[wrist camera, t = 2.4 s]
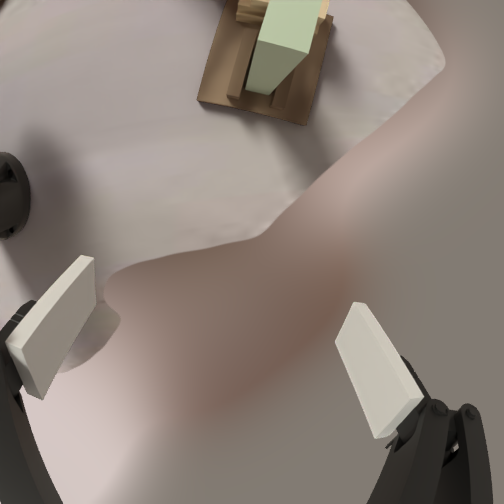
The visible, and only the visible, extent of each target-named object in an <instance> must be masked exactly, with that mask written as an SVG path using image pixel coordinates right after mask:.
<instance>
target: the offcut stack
mask: <svg viewBox="0 0 504 504" xmlns="http://www.w3.org/2000/svg"><path fill="white" fill-rule="evenodd" d="M269 1H270V0H239V3H238V10H237V13H236V21H240V22H246V23H250V24H255V25H260V26H262V23H263V20H264V17H265V14H266V11H267V7H268V4H269ZM329 1H330V0H322V3H321V7H320V11H319V15H318V19H317V23H316V27H315V31H314V34H313V38H312V40H313V39H314V38H315V36H316V35H317V34H318V30H319V26H320V24H321V23H322V22H323V21H324V20H325V17H326V13H327V9H328V5H329Z"/></svg>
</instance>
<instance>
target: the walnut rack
mask: <svg viewBox="0 0 504 504" xmlns="http://www.w3.org/2000/svg"><path fill="white" fill-rule="evenodd" d="M238 3H239V0H227V1H226V4H225V7H224V10H223V13H222V15H221V18H220V21H219V24H218V27H217V30H216V34H215V37H214V40H213V43H212V46H211V50H210V53H209V56H208V60H207V63H206V67H205V70H204V74H203V77H202V81H201V85H200V89H199V92H198V96H197V101H200V102H206V103H211V104H217V105H222V106H227V107H232V108H237V109H241V110H246V111H250V112H254V113H259V114H263V115H267V116H271V117H275V118H278V119H282V120H286V121H289V122H293V123H296V124H300V125H303V126H305V125H307V121H308V117H309V113H310V109H311V105H312V102H313V98H314V94H315V90H316V86H317V82H318V78H319V74H320V70H321V66H322V62H323V58H324V54H325V50H326V46H327V42H328V38H329V34H330V30H331V26H332V22H333V16H330V15H327V14H326V17H325V20H324V21H323V22H322V23H321V24H320V26H319V30H318V34H317V35H316V36H315V38H314V39H313V40H312V42H311V46H310V50H309V54H308V55H307V56H306V57H305V58H304V59H303V60H302V61H301V62H300V63H299V64H298V65H297V66H296V67H295V68H294V69H293V70H292V71H291V72H290V73H289V74H288V75H287V76H286V77H285V78H284V79H283V81H282V82H281V83H280V84H279V85H278V86H277V87H276V88H275V89H274V90H273V91H272V92H271V94H270V95H265V94H261V93H257V92H253V91H248V90H245V88H246V84H247V80H248V75H249V71H250V67H251V63H252V59H253V56H254V52H255V48H256V44H257V40H258V37H259V33H260V30H261V27H262V26H260V25H255V24H250V23H246V22H240V21H236V13H237V10H238Z"/></svg>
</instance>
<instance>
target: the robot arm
mask: <svg viewBox="0 0 504 504" xmlns="http://www.w3.org/2000/svg"><path fill="white" fill-rule="evenodd" d="M29 210H30V189H29V183H28V179H27V176H26V173H25V171H24V169H23V167H22V165H21V164H20V162H19V161H18V160H17V159H16V158H15V157H14V156H13V155H11V154H9V153H6V152H0V240H6V239H9V238H11V237H12V236H14V235H16V234H17V233H19V232H20V231H21V230H22V228H23V227H24V225H25V224H26V221H27V219H28V215H29ZM96 305H97V303H96V289H95V267H94V258H93V257H88V256H83V255H80V256H79V257H78V258H77V259H76V261H75V262H74V263H73V264H72V265H71V266H70V267H69V268H68V269H67V270H66V271H65V272H64V273H63V274H62V275H61V276H60V277H59V278H58V279H57V280H56V281H55V283H54V284H53V285H52V286H51V287H50V288H49V289H48V290H47V291H46V292H45V294H44V295H43V296H42V297H41V298H40V299H39V300H38V302H36V301H33V300H30V301H29V302H27V303H25V304H24V305H22V306H21V307H20V308H19V309H18V311H17V312H16V314H14V315H13V316H12V318H11V320H9V321H8V322H7V323H6V325H5V326H4V327H3V328H2V330H1V331H0V502H1V504H63V502H62V501H61V498H60V496H59V494H58V493H57V491H56V489H55V487H54V484H53V483H52V480H51V478H50V476H49V474H48V471H47V469H46V467H45V464H44V462H43V460H42V457H41V455H40V452H39V450H38V447H37V444H36V442H35V439H34V436H33V433H32V430H31V427H30V424H29V421H28V417H27V415H26V411H25V407H24V403H23V400H22V396H21V394H20V392H19V390H20V389H21V387H22V385H23V386H24V388H25V390H26V392H27V393H28V394H29V395H32V396H34V397H36V398H39V399H41V400H43V399H44V397H45V395H46V393H47V391H48V388H49V387H50V385H51V383H52V381H53V379H54V377H55V375H56V373H57V371H58V370H59V368H60V366H61V364H62V362H63V360H64V359H65V357H66V355H67V353H68V351H69V350H70V348H71V346H72V344H73V343H74V341H75V339H76V338H77V336H78V334H79V332H80V331H81V329H82V327H83V326H84V324H85V322H86V321H87V319H88V318H89V316H90V314H91V313H92V311H93V310H94V308H95V306H96ZM335 344H336V346H337V348H338V350H339V353H340V355H341V358H342V360H343V362H344V365H345V367H346V369H347V372H348V374H349V377H350V379H351V381H352V384H353V386H354V388H355V391H356V393H357V396H358V398H359V401H360V403H361V406H362V408H363V410H364V413H365V416H366V418H367V420H368V423H369V426H370V428H371V430H372V433H373V436H374V438H375V439H376V438H382V437H388V436H389V435H390V434H391V433H392V432H393V431H394V430H395V429H397V432H398V435H397V436H396V437H395V438H394V439H393V440H392V441H391V442H390V443H389V444H387V446H386V447H385V448H386V449H387V448H388V447H389V446H390V445H392V447H391V449H390V452H389V455H388V457H387V460H386V462H385V465H384V467H383V470H382V472H381V474H380V476H379V479H378V481H377V483H376V485H375V488H374V490H373V492H372V494H371V496H370V498H369V500H368V502H367V504H493V494H492V481H491V472H490V465H489V457H488V451H487V445H486V439H485V434H484V429H483V425H482V420H481V416H480V413H479V411H478V410H477V408H476V407H474V406H473V405H471V404H464V405H462V406H461V408H460V409H459V410H458V411H454V410H449V409H448V407H447V406H446V405H445V404H444V403H443V402H442V401H440V400H437V399H431V397H430V396H429V394H428V392H427V391H426V389H425V388H424V386H423V384H422V382H421V381H420V379H419V378H418V376H417V374H416V373H415V372H414V370H413V368H412V366H411V365H410V363H409V362H408V361H407V360H406V359H405V358H404V357H402V356H399V354H398V353H397V351H396V350H395V348H394V346H393V345H392V343H391V342H390V340H389V338H388V337H387V335H386V334H385V332H384V331H383V329H382V328H381V326H380V325H379V323H378V322H377V320H376V319H375V317H374V315H373V314H372V313H371V311H370V310H369V308H368V307H367V305H366V304H365V303H357V302H353V304H352V307H351V309H350V311H349V313H348V315H347V318H346V320H345V322H344V324H343V326H342V328H341V330H340V332H339V334H338V336H337V338H336V340H335ZM456 444H458V446H459V448H458V449H457V450H456V451H455V452H454V449H453V447H454V446H455V445H456Z"/></svg>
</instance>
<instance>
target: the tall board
mask: <svg viewBox="0 0 504 504" xmlns="http://www.w3.org/2000/svg"><path fill="white" fill-rule="evenodd" d="M321 3H322V0H270V1H269V4H268V7H267V11H266V14H265V17H264V20H263V23H262V27H261V30H260V33H259V37H258V40H257V44H256V48H255V52H254V56H253V59H252V63H251V67H250V71H249V75H248V80H247V84H246V88H245V90H248V91H253V92H257V93H261V94H265V95H270V94H271V92H272V91H273V90H274V89H275V88H276V87H277V86H278V85H279V84H280V83H281V82H282V81H283V79H284V78H285V77H286V76H287V75H288V74H289V73H290V72H291V71H292V70H293V69H294V68H295V67H296V66H297V65H298V64H299V63H300V62H301V61H302V60H303V59H304V58H305V57H306V56H307V55H308V54H309V50H310V46H311V42H312V38H313V34H314V31H315V27H316V23H317V19H318V15H319V11H320V7H321Z"/></svg>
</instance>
